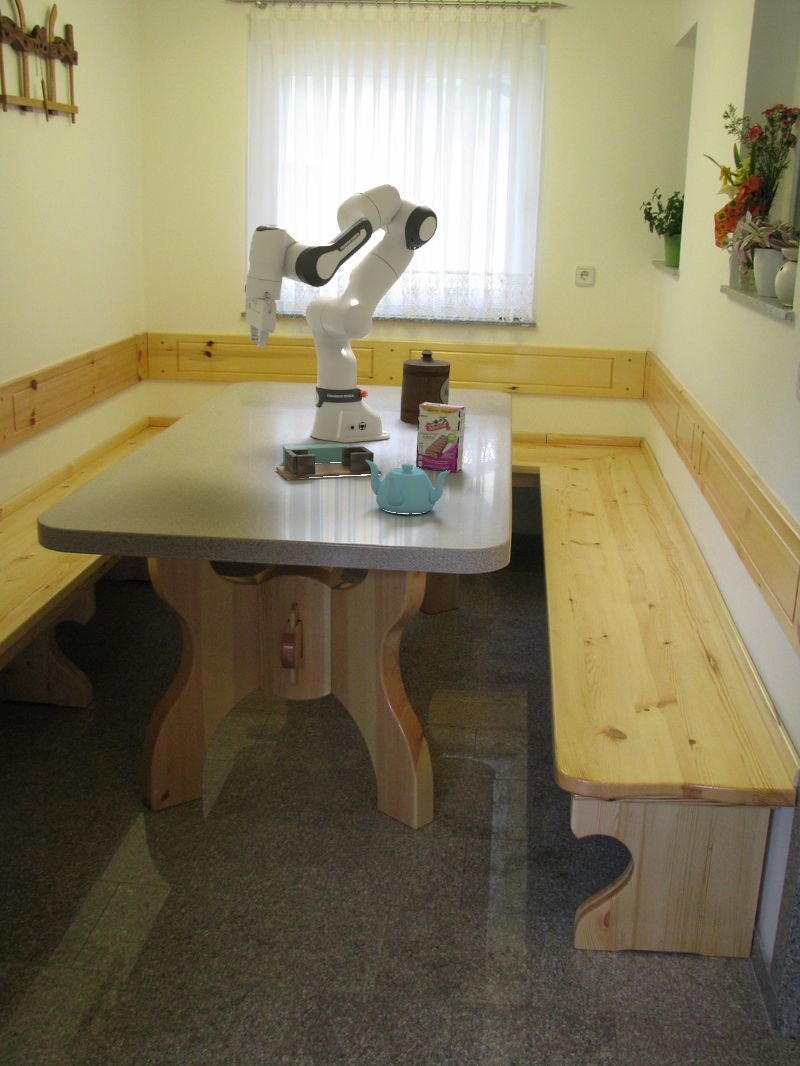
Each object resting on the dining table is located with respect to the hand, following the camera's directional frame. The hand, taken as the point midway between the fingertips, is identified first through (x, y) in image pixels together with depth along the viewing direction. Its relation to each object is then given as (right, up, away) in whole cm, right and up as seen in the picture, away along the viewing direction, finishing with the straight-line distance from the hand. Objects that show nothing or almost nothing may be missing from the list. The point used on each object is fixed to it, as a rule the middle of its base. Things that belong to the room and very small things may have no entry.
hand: (257, 345), depth 283 cm
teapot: (+37, -43, -41) cm, 71 cm away
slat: (+15, -30, +1) cm, 34 cm away
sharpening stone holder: (+19, -33, -10) cm, 40 cm away
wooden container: (+44, -13, +63) cm, 78 cm away
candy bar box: (+46, -32, -1) cm, 56 cm away
